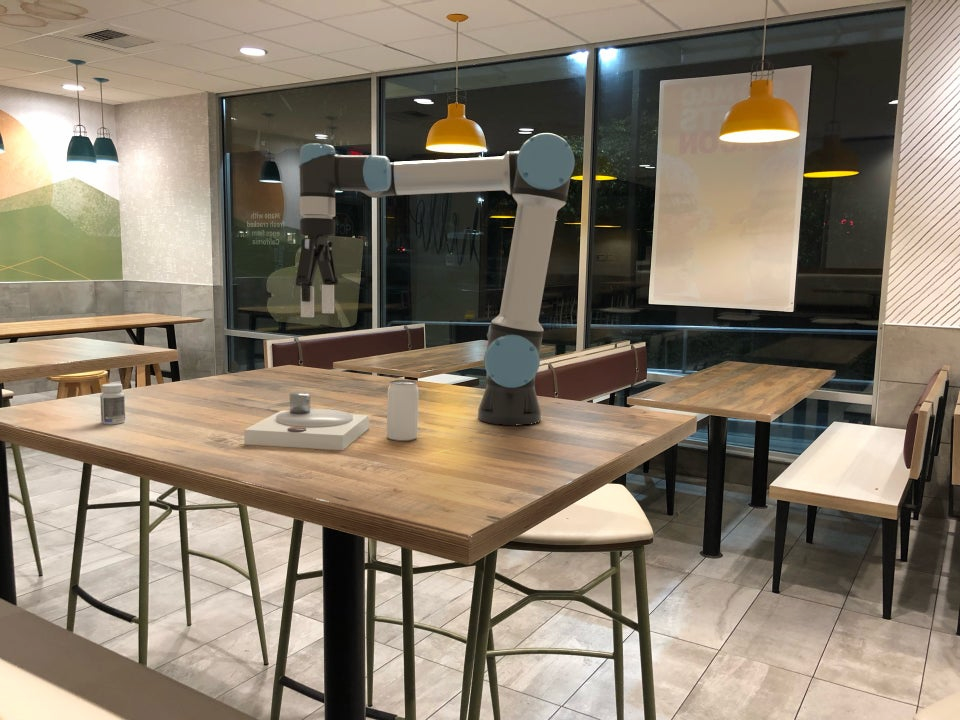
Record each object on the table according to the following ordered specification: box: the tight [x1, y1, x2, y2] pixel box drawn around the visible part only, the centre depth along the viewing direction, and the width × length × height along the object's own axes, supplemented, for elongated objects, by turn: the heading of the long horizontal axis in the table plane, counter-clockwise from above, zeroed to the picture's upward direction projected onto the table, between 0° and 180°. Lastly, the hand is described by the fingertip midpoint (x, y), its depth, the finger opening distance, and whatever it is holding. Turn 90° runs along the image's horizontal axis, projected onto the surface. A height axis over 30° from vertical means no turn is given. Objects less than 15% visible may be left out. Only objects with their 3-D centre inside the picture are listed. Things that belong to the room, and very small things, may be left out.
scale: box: [243, 408, 370, 451], centre depth 157 cm, size 20×21×4 cm
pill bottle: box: [99, 382, 126, 425], centre depth 162 cm, size 5×5×8 cm
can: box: [386, 379, 419, 442], centre depth 157 cm, size 6×6×12 cm
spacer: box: [289, 391, 311, 414], centre depth 163 cm, size 4×4×4 cm
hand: (318, 315), depth 165 cm, fingers open, 13 cm apart
